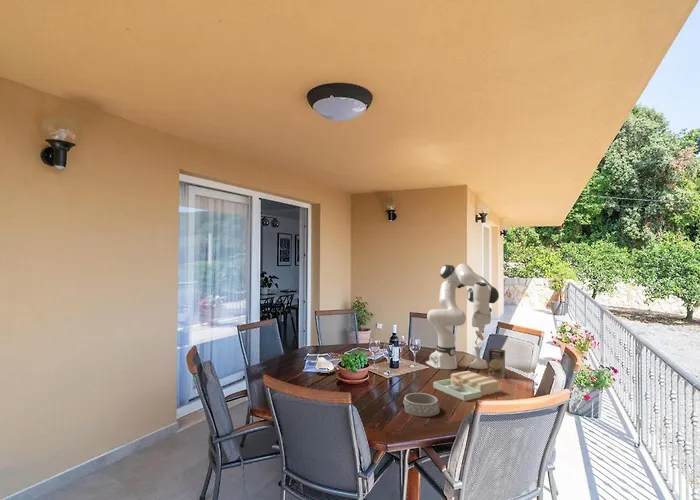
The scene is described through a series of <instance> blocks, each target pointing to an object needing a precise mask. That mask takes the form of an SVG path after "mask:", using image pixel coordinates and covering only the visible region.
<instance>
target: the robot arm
mask: <svg viewBox="0 0 700 500" xmlns="http://www.w3.org/2000/svg"><path fill="white" fill-rule="evenodd" d="M439 275H440V277H441V278H442V279H444V281H443V282H441V285H440V289H439V296H438V297H439V301H438V303H439V305H440V306H441V307H442V308H432V309H430V310H428V312H427V315H426V319H427V321H428V323H429V324H430V325H432V326H433V327H434V329H435V331H436V335H437V345H436V349H435V351H433V352H431V354H429V357H428V358H429V360H426V361H425V364H427V365H429V366H430V367H433V368H434V369H440V370H455V369H458V363H457V355H456V340H455V339H456V337H455V334H454V333H453V332H452V331H450V330H449V329H447V328H446V326H450V327H459V326H464V325H465V323H466V320H467V317H466V313H465V312H464V311H463V310H462V309H460V308H459V307H458V305H457V302H456V290H457V289H461V288H464V287H470V288H468V290H466V298H467V300H468V301H469V302H470V303H473V314H472V317H471V327H473V328H478V331H479V333H481V334H484V332H485V327H486V326H487V325H489V324H490V325H491V321H492V312H493V309H492V308H491V307H490V304H494V303H496V302H497V301H498V300H499V299H500V296H499V295H500V294H499V290H498V289H497V288H496V287H494V286H492V285H491V284H490V283H489V282H488V281H487V279H485V278H484V277H483V276H482V275H479V274H477V273H476V272H475V271H474V270H473V269H472V267H471V266H470V265H468V264H466V263H459V264H458V265H457V266H454V265H453V264H451V265H450V264H444V265H443V266H442V267H441V269H440V271H439Z"/></svg>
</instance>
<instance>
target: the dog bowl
mask: <svg viewBox="0 0 700 500" xmlns="http://www.w3.org/2000/svg"><path fill="white" fill-rule="evenodd" d="M402 406H403V407H404V413H406V414H408V415H412V416H415V417H433V416H437V415H438V414H439V413H440V411H441V410H440V403H439V400H438V398H437V397H436V396H434V395H432V394H429V393H425V392H424V393H423V392H411V393H407V394H406V395H405V396H404V398H403V401H402Z"/></svg>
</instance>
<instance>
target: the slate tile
mask: <svg viewBox="0 0 700 500" xmlns="http://www.w3.org/2000/svg"><path fill="white" fill-rule="evenodd" d="M448 388H450V389H452V390H455V391H457V392H460V391H462V387H459V386H457V385H451V386H448Z"/></svg>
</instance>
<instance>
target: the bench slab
mask: <svg viewBox="0 0 700 500" xmlns="http://www.w3.org/2000/svg"><path fill="white" fill-rule="evenodd" d="M453 378H456V379H458V380H460V381H461V383H462V384H464V385H467V386H470V387H472V388H475V389H478V390H480V391H482V397H483V395H484V396H487V395H486V394H488V395H491V393H492V394H495V392H497V393H499V380H496V379H493V378H491V377H487V376H484V375H483V374H478V373H476V372H473V371H470V370H466V371H459V372H455V373H454V372H453V373H450V379H451V380H452V379H453Z"/></svg>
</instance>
